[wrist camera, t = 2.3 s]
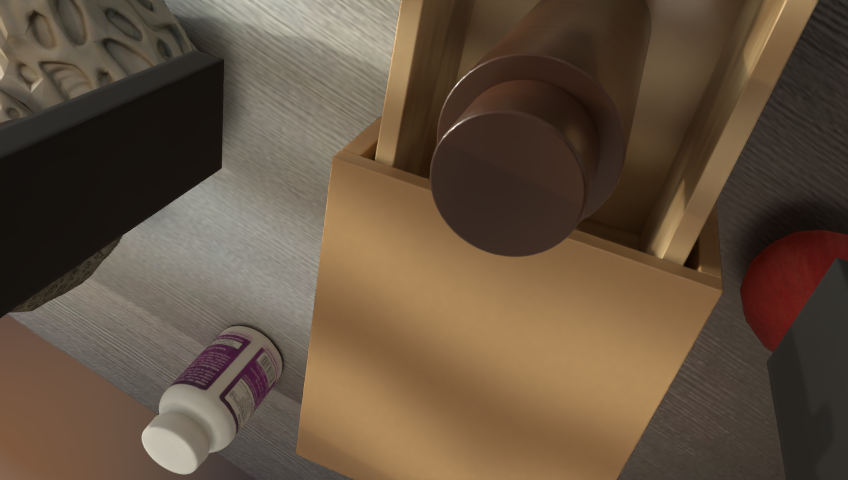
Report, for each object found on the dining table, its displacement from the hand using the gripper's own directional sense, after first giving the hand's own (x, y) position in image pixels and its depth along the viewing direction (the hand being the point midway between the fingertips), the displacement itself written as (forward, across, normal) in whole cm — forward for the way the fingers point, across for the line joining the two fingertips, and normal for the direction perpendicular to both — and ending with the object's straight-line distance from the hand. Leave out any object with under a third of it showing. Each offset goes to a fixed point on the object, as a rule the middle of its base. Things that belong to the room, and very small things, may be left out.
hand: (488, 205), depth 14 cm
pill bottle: (+19, -16, -29) cm, 38 cm away
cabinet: (+19, 0, -14) cm, 23 cm away
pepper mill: (+17, 0, 0) cm, 17 cm away
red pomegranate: (+19, +13, -8) cm, 24 cm away
